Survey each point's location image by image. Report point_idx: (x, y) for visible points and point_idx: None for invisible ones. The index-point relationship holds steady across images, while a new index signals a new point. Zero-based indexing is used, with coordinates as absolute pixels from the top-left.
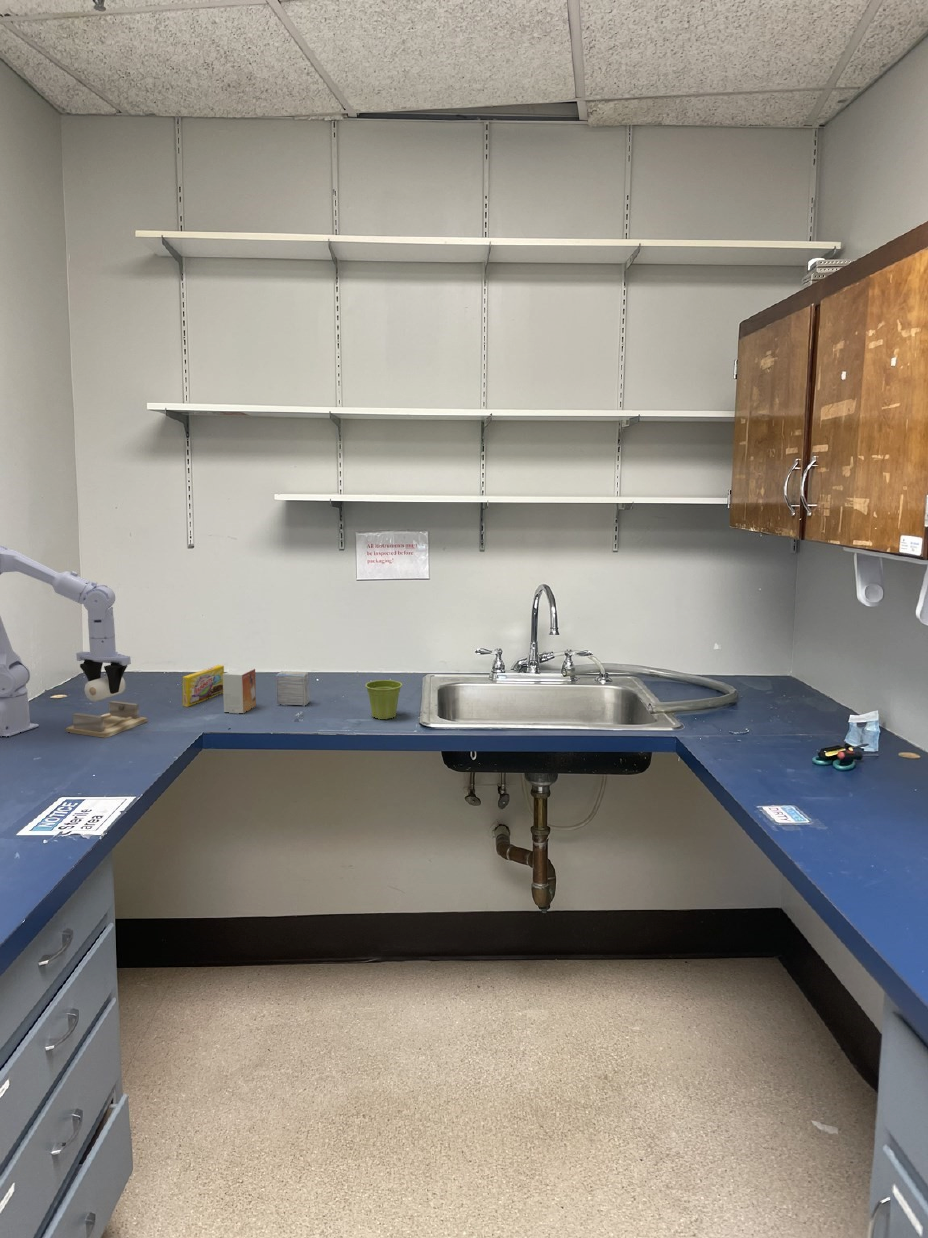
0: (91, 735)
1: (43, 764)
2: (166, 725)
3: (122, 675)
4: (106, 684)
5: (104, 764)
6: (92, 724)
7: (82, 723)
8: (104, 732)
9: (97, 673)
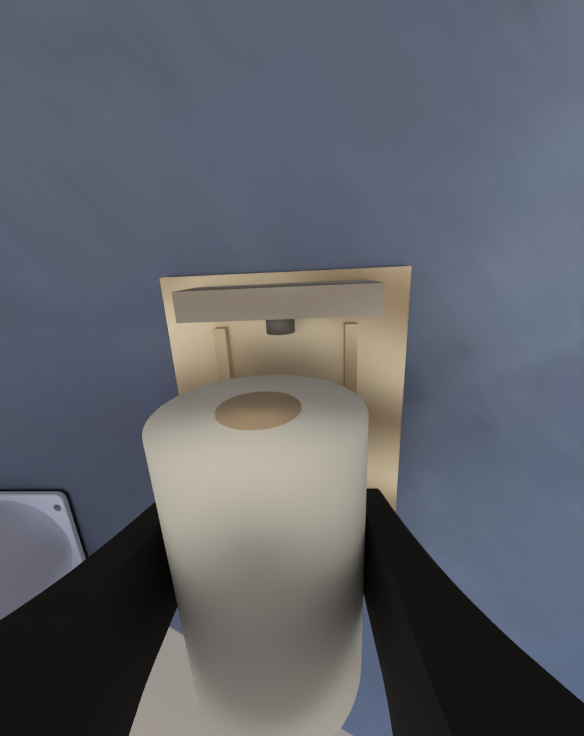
0: None
1: None
2: (536, 274)
3: (490, 624)
4: (355, 649)
5: (556, 660)
6: None
7: None
8: None
9: (98, 660)
